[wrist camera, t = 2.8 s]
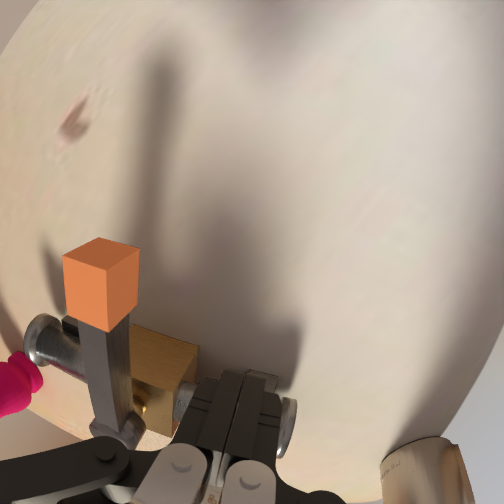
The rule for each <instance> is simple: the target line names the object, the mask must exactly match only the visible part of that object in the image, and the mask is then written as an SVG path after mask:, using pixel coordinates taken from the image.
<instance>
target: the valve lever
mask: <svg viewBox="0 0 504 504" xmlns="http://www.w3.org/2000/svg"><path fill="white" fill-rule="evenodd" d="M62 256H63V274H64V287H65V297H66V307H67V315H69V316H71V317H73V318H76V319H77V322H78V330H79V337H80V344H81V351H82V357H83V363H84V368H85V374H86V379H87V384H88V389H89V393H90V398H91V402H92V406H93V410H94V414H95V418H94V420H93V421H92V422H91V424H90V425H89V429H90V432H91V433H92V435H93V436H94V437H98V436H110V437H113V438H116V439H118V440H119V441H121V442H122V443H123V444H124V445H125V446H126V447H127V449H128V450H135V449H136V447H137V445H138V443H139V442H140V440H141V438H142V436H143V435H144V433H145V431H146V424H145V422H144V421H143V419H142V418H141V417H140V416H139V415H138V414H137V413H136V412H135V411H134V405H133V394H132V382H131V367H130V346H129V312H130V311H131V310H132V309H133V308H134V307H135V306H136V305H137V304H138V277H139V256H140V249H139V248H135V247H132V246H128V245H125V244H121V243H117V242H114V241H110V240H107V239H103V238H100V237H98V238H96V239H94V240H92V241H90V242H88V243H86V244H84V245H82V246H80V247H78V248H76V249H74V250H72V251H70V252H68V253H66V254H64V255H62Z"/></svg>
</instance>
